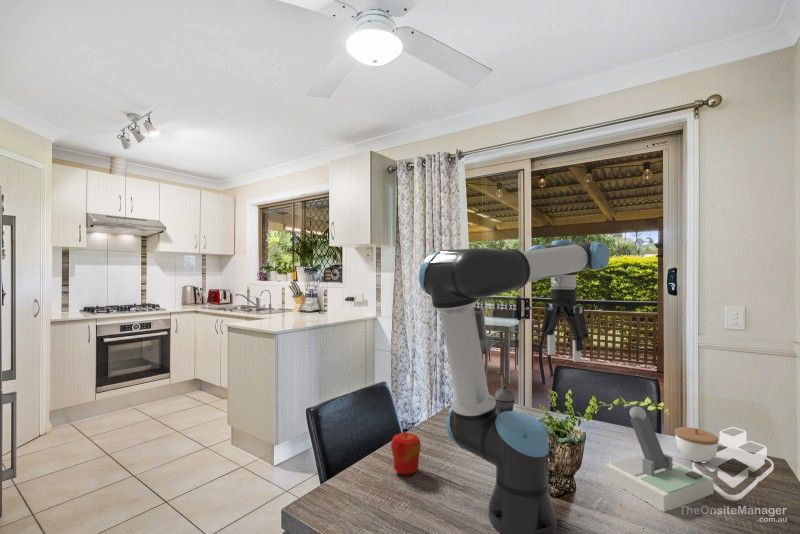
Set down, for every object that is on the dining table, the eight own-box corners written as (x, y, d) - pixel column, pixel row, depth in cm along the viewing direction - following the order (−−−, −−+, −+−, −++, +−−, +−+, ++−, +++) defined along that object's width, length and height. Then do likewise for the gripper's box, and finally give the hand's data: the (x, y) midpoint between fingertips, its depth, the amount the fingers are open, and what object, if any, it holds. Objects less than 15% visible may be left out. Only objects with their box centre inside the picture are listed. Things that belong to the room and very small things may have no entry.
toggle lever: (646, 470, 104) (622, 408, 110) (658, 467, 106) (634, 406, 112) (660, 471, 100) (634, 406, 107) (672, 467, 102) (646, 404, 109)
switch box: (605, 479, 107) (605, 452, 107) (652, 465, 115) (652, 440, 115) (663, 512, 92) (663, 480, 92) (713, 494, 100) (713, 464, 100)
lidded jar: (678, 447, 127) (678, 419, 127) (720, 458, 119) (720, 428, 119) (671, 458, 119) (671, 428, 119) (715, 471, 111) (715, 439, 112)
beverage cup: (517, 434, 136) (517, 378, 137) (497, 434, 136) (496, 378, 137) (511, 426, 144) (511, 373, 144) (492, 426, 144) (492, 373, 144)
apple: (397, 482, 105) (397, 439, 105) (386, 467, 113) (387, 427, 113) (425, 476, 108) (425, 434, 109) (413, 462, 116) (413, 423, 116)
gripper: (530, 287, 132) (530, 351, 132) (583, 289, 111) (584, 366, 111) (546, 287, 135) (546, 350, 135) (602, 289, 114) (602, 364, 114)
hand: (563, 357), depth 123 cm, fingers open, 10 cm apart
